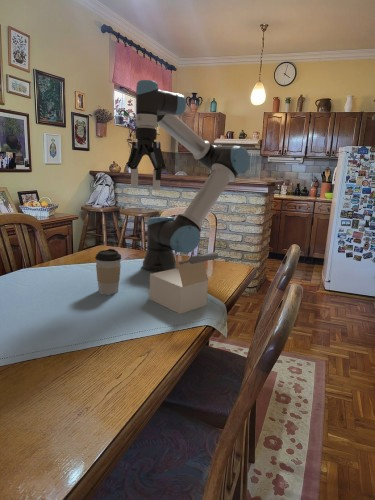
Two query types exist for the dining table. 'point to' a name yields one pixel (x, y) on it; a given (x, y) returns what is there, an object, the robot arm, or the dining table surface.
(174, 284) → the carton
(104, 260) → the coffee cup
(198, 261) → the drawer with bar handle
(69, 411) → the dining table surface
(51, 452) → the dining table surface
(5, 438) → the dining table surface
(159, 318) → the dining table surface
